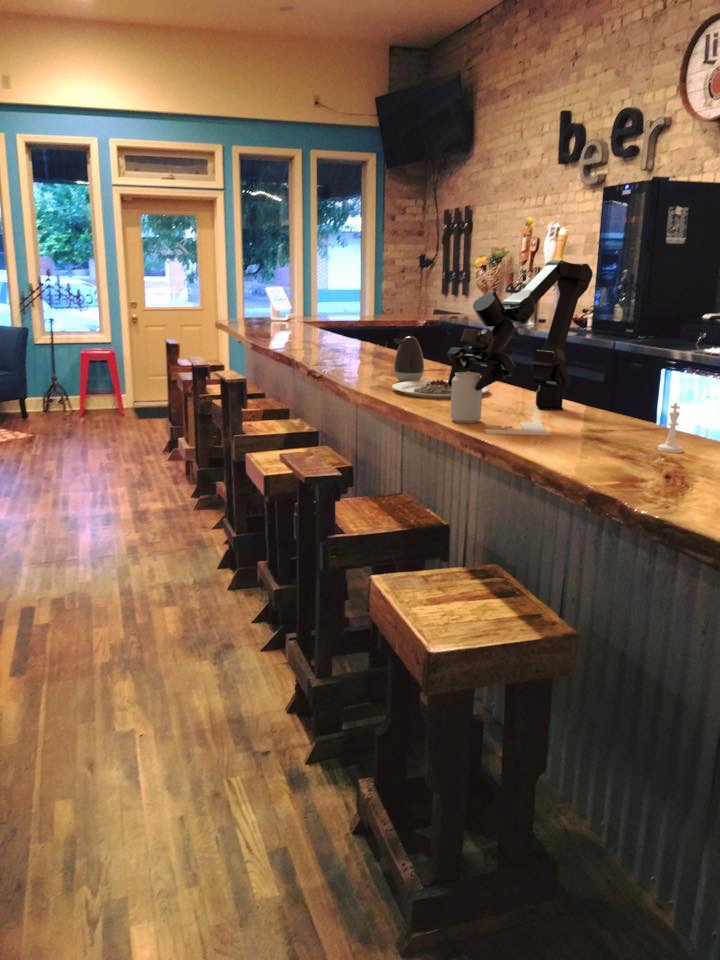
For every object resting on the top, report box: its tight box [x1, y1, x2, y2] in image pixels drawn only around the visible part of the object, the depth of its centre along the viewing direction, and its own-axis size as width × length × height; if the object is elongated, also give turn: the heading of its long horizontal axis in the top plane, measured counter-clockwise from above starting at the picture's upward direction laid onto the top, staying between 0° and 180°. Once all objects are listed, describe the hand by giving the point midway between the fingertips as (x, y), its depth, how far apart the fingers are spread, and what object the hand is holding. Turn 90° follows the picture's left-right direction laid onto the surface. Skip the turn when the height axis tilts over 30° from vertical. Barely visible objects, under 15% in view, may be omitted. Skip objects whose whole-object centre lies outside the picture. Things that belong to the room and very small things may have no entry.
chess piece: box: [657, 402, 684, 454], centre depth 162 cm, size 5×5×10 cm
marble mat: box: [484, 421, 549, 436], centre depth 184 cm, size 14×14×1 cm
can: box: [450, 371, 483, 424], centre depth 191 cm, size 8×8×12 cm
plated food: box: [391, 378, 491, 399], centre depth 238 cm, size 30×30×3 cm
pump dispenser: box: [393, 335, 425, 382], centre depth 258 cm, size 10×10×15 cm
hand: (462, 387), depth 189 cm, fingers open, 9 cm apart
